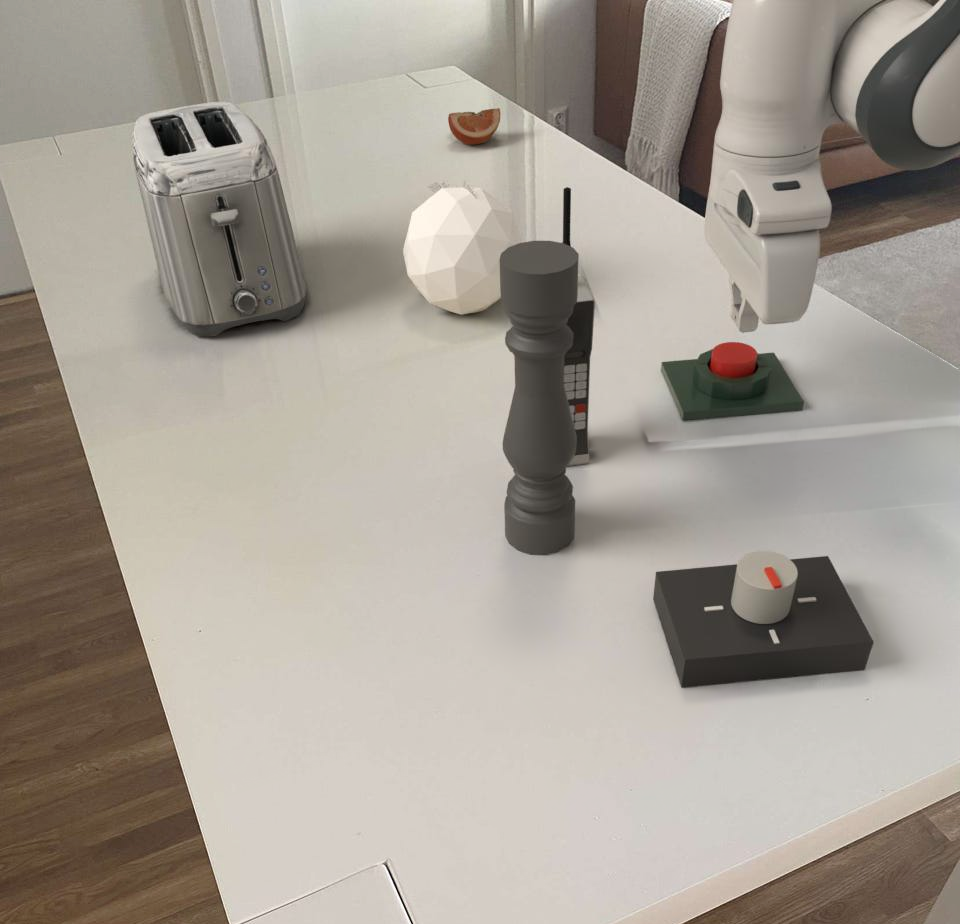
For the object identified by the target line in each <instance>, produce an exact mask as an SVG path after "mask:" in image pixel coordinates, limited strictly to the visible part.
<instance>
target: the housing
mask: <svg viewBox="0 0 960 924" xmlns="http://www.w3.org/2000/svg"><path fill="white" fill-rule="evenodd" d="M712 350H713V348H711V349H709V350H707V351H705V352H701V353H700V354H699V355H698V357H697V358H694V359H693V358H692V359H680V360H671V361H670V360H668V361H661V364H660V372H661V375H662V377H663V380H664V381H665V384H666V386H667V389H668V391H669V393H670V396H671V398H672V400H673V402H674V405H675V407H676V409H677V412H678V415H679V416H680V418H681V421H682V422H688V421H697V420H698V421H699V420H711V419H725V418H733V417H734V418H735V417H736V418H737V417H747V416H756V415H757V416H758V415H768V414H769V415H770V414H781V413H792V412H793V413H794V412H802V411H803V409H804V404H805V400H804V399H803V398H802V396H801V394H800V393H799V391H798V389H797V387H796V386H795V384H794V383H793V381H792V379H791V377H790V376H789V374H788V373H787V371H786V370H785V368H784V367H783V365H782V362H781V361H780V360H779V358H778V356H777V355H776V354H775V352H761V353H758V352H757V360H756V366H755V371H754V373H753V374H752V375H750V376H748V377H742V378H729V377H724V376H719V375H718V374H716V373H714V372H712V371H711V369H710V364H711V356H712Z"/></svg>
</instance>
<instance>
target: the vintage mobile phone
mask: <svg viewBox="0 0 960 924" xmlns="http://www.w3.org/2000/svg"><path fill="white" fill-rule="evenodd" d="M562 192H563V194H562V195H563V197H562V199H563V201H562V202H563V203H562V206H563V207H562V212H563V213H562V243H564V244H566V245H568V246H570V247H572V245H571V214H572V213H571V211H572V210H571V209H572V207H571V206H572V204H571V203H572V188H570V187H567V186H566V187H564V188H563V191H562ZM595 309H596V301H595V298H594V297H593V295H592V293H591V291H590V289H589V287H588V285H587V283H586V282H585V280H584V278H583V276H582V275H578V296H577V303H576V304H575V305H574V307H573V313H572V315H571V316H570V317H569V318H568V322H567V324H566V325H567V326H568V327H569V328H570V329H571V330H572V332H573V333H574V336H573V344H572V347H571V348H570V349H569V350H568V351H567V352H566V354H565V355H564V387H565V391H566V395H567V399H568V403H569V407H570V412H571V416H572V420H573V424H574V428H575V432H576V436H577V444H576V452H575V455H574V458H573V459H572V461H571V462H570V464H569V465H568V466H567V467H571V466H572V467H573V466H581V465H587V464H588V463H590V444H589V443H590V442H589V407H590V406H589V405H590V404H589V403H590V380H591V379H590V377H591V375H590V374H591V356H592V352H593V340H594V325H595Z"/></svg>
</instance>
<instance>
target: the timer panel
mask: <svg viewBox="0 0 960 924" xmlns="http://www.w3.org/2000/svg"><path fill="white" fill-rule="evenodd" d="M789 559H790V558H789ZM790 560H791V561H792V562H793V563H794V564H795V566H796V568H797V571H798V577H797V581H796V585H795V590H794V594H793V598H792V603H791V607H790V611H789V613H788V615H787V616H786V617H785V618H784V619H782V620H781V621H779V622H776V623H772V624H758V623H753V622H750V621H747V620H745V619H743V618H741V617H740V616H739V615H738V614H736V612H735V611H734V610H733V608H732V605H731V598H732V592H733V586H734V580H735V575H736V569H737V564H738V563H736V564H725V565H715V566H704V567H703V566H702V567H693V568H682V569H671V570H661V571H656V572H655V577H654V586H653V587H654V588H653V598H652V599H653V604H654V606H655V609H656V614H657V616H658V619H659V622H660V626H661V628H662V631H663V634H664V637H665V641H666V643H667V647H668V650H669V653H670V657H671V659H672V664H673V666H674V669H675V672H676V675H677V678H678V682H679V685H680V688H682V689H683V688H691V687H702V686H715V685H724V684H725V685H726V684H731V683H732V684H733V683H746V682H755V681H763V680H764V681H765V680H766V681H767V680H775V679H776V680H777V679H786V678H795V677H806V676H817V675H826V674H827V675H828V674H837V673H847V672H856V671H857V672H858V671H865V670H866V668H867V664H868V661H869V658H870V654H871V652H872V648H873V645H874V639H873V638H872V636H871V634H870V632H869V631H868V629H867V626H866V625H865V623H864V621H863V619H862V617H861V615H860V613H859V611H858V610H857V607H856V606H855V604H854V602H853V600H852V598H851V596H850V594H849V593H848V591H847V588H846V587H845V585H844V583H843V581H842V580H841V577H840V576H839V574H838V572H837V570H836V568H835V566H834V565H833V563H832V561H831V559H830V557H829V555H823V556H812V557H801V558H791V559H790Z"/></svg>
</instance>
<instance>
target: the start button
mask: <svg viewBox="0 0 960 924" xmlns="http://www.w3.org/2000/svg"><path fill="white" fill-rule="evenodd" d="M712 349H713V350H712V356H711V364H710V369H711V371H712V372H714V373H716V374H718V375H719V376H724V377H729V378H742V377H748V376H750V375H752V374H753V373H754V371H755V366H756V360H757V353H758V351H757V350H756V349H755V347H753V346H752V345H749V344H747V343H743V342H739V341H727V342H721V343H719V344H717V345H715V346H714V347H713V348H712Z"/></svg>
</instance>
